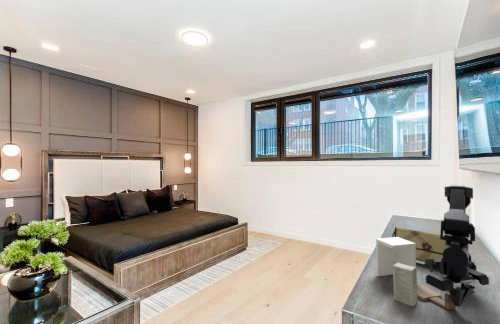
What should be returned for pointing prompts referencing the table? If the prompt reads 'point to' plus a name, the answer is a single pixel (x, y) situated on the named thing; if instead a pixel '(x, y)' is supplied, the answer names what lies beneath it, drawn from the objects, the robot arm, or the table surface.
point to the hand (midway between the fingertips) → (457, 306)
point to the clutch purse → (423, 243)
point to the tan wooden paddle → (435, 297)
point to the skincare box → (405, 283)
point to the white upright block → (393, 254)
